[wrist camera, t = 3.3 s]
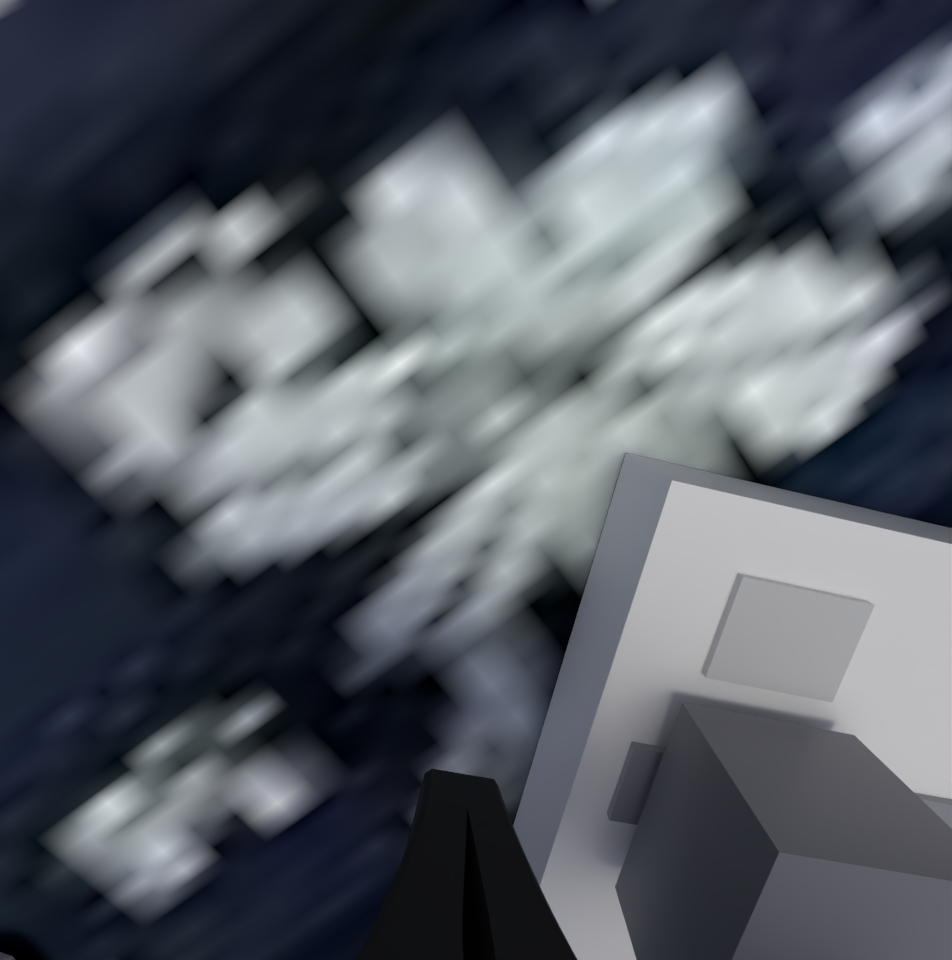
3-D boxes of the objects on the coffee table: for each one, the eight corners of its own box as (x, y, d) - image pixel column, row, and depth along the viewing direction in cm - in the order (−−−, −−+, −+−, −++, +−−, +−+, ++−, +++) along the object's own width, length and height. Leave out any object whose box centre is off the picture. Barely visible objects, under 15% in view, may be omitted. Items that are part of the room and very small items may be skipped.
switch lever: (614, 886, 12) (674, 1087, 9) (682, 702, 11) (778, 852, 8) (773, 911, 13) (889, 1114, 9) (854, 734, 12) (1018, 892, 8)
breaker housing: (495, 883, 17) (504, 1005, 14) (625, 452, 14) (675, 482, 11) (954, 953, 18) (1057, 1079, 15) (1165, 577, 15) (1350, 636, 12)
